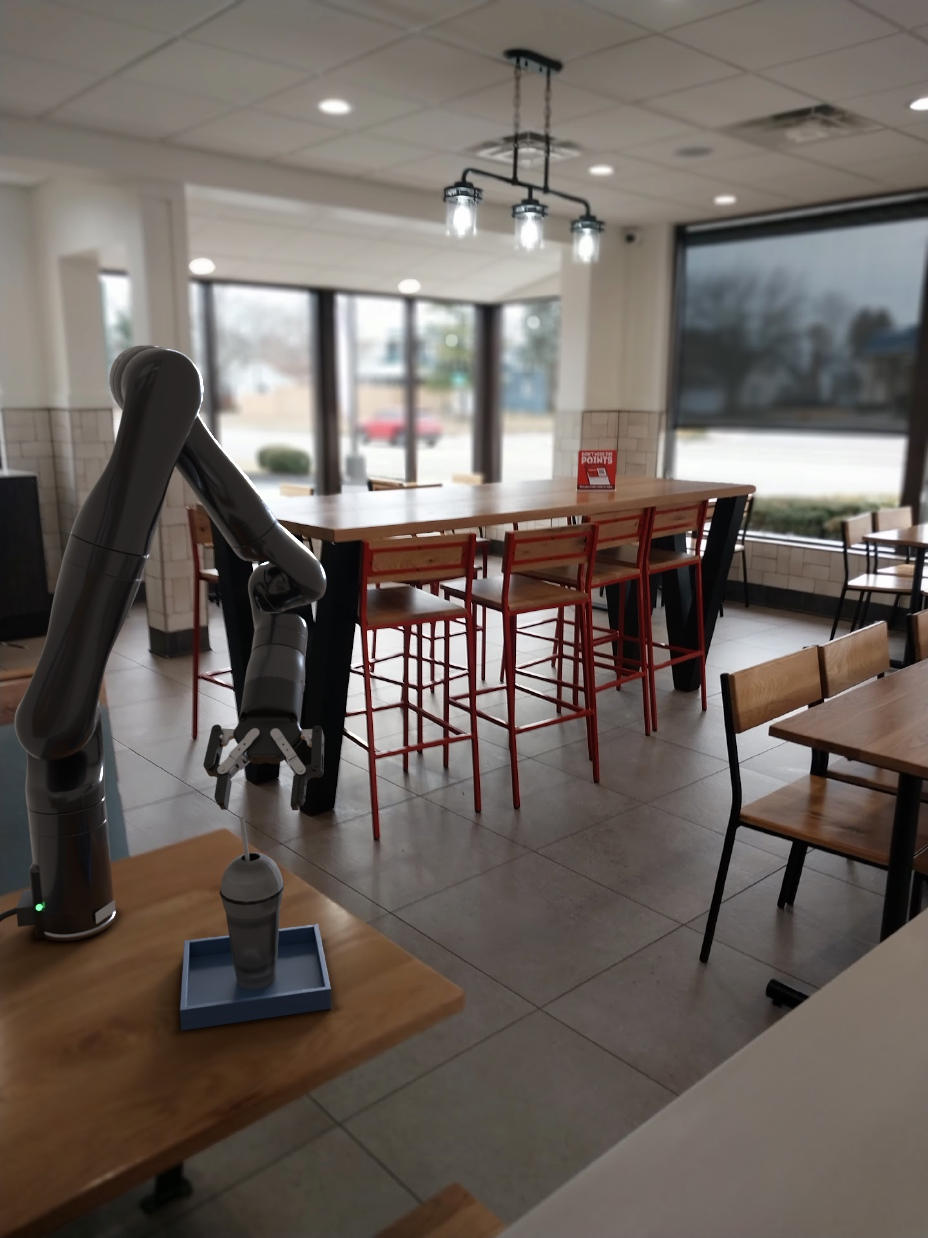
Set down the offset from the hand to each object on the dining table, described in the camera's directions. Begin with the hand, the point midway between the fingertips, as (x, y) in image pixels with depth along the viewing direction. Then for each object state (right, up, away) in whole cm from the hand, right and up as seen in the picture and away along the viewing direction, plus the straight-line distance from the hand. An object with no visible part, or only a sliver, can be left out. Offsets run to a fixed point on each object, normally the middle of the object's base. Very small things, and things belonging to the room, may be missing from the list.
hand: (258, 808), depth 113 cm
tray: (0, -20, -2) cm, 20 cm away
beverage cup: (0, -20, -2) cm, 20 cm away
